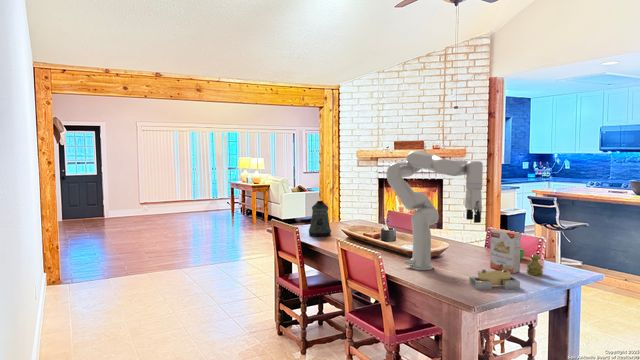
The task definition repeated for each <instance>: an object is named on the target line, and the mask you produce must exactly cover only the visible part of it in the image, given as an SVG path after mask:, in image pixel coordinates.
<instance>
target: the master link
mask: <svg viewBox="0 0 640 360" xmlns="http://www.w3.org/2000/svg"><path fill="white" fill-rule="evenodd" d="M510 276H511V273H510V272H509V271H507V270H506V269H502V271H501V270H486V269H481V270H478V271H477V277H478V281H491V282H492V286H499V285H503V280H510Z"/></svg>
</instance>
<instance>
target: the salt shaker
mask: <svg viewBox="0 0 640 360" xmlns="http://www.w3.org/2000/svg"><path fill="white" fill-rule="evenodd" d="M529 258H530V259H531V261H529V263H527V264H526V273H527V275H530V276H534V277H538V276H539V277H540V276H543V273H544V270H543V269H544V265H542V264H541V263H540V262H539V260H540V259H541V258H542V257H541V256H540V255H538V254H536V253H535V254H532V255H530V256H529Z"/></svg>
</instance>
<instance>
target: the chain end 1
mask: <svg viewBox="0 0 640 360" xmlns="http://www.w3.org/2000/svg"><path fill="white" fill-rule="evenodd" d="M468 282H469V283H468V284H469V285H470V286H471V287H472V288H473V289H475V290H476V291H486V290H487V291H489V290H491V291H492V290H493V285H492V282H491V281H478V276H469V277H468Z"/></svg>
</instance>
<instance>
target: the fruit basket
mask: <svg viewBox="0 0 640 360" xmlns="http://www.w3.org/2000/svg"><path fill="white" fill-rule="evenodd" d="M521 243H522V242H521ZM521 243H520V260H522V259H523V257H524V255H525V253H526V250H524V249H522V245H521Z"/></svg>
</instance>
